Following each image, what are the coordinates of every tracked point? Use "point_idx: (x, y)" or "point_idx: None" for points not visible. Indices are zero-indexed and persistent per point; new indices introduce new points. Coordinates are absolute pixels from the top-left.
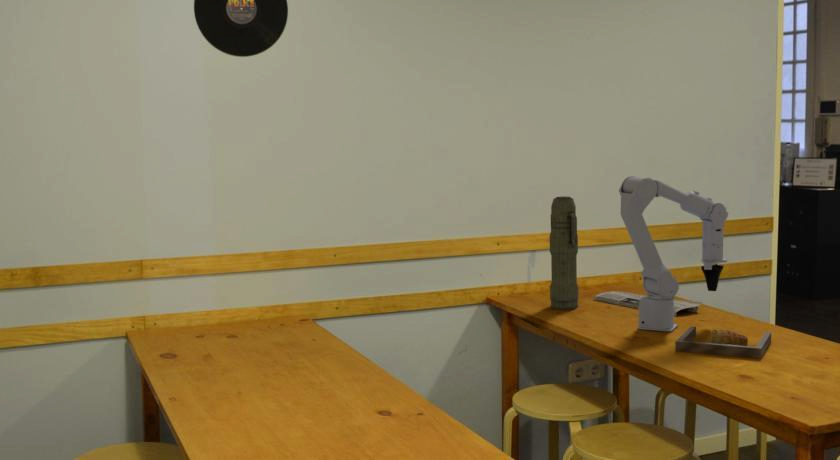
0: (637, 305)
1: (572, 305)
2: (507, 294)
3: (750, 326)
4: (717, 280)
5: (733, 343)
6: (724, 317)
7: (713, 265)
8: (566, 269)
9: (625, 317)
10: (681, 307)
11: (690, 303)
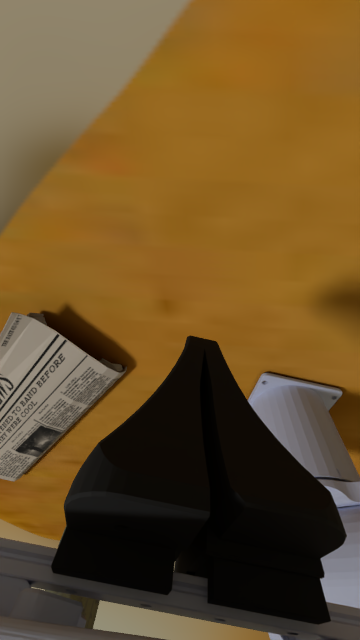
0: (62, 434)
1: None
2: (42, 535)
3: (270, 98)
4: (236, 390)
5: None
6: (98, 224)
7: (286, 615)
8: (92, 612)
9: None
10: (85, 366)
11: (12, 341)
